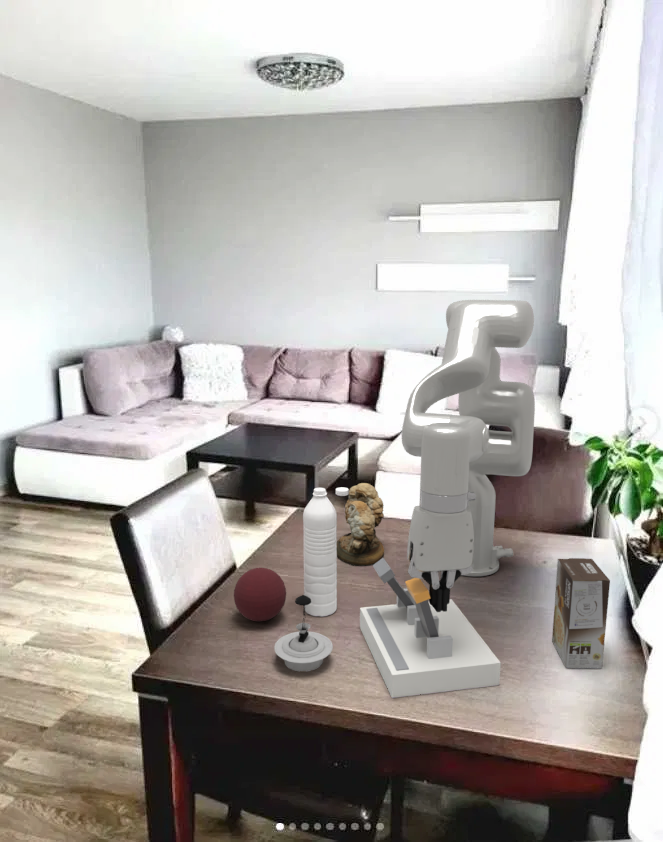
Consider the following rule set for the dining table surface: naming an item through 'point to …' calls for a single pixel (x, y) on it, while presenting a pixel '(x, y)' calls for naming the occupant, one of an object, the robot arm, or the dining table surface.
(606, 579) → the coffee box
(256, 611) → the decorative ball
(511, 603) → the dining table surface
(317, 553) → the water bottle
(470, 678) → the box
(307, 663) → the gray round rimmed fixture
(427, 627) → the lever
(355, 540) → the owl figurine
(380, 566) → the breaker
